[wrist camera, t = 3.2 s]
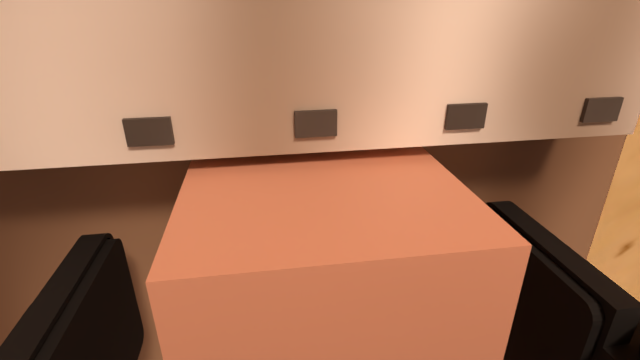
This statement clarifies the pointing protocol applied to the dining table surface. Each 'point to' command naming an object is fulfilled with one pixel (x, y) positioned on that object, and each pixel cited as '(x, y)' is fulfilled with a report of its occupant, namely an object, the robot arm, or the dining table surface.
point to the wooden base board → (296, 109)
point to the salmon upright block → (334, 261)
